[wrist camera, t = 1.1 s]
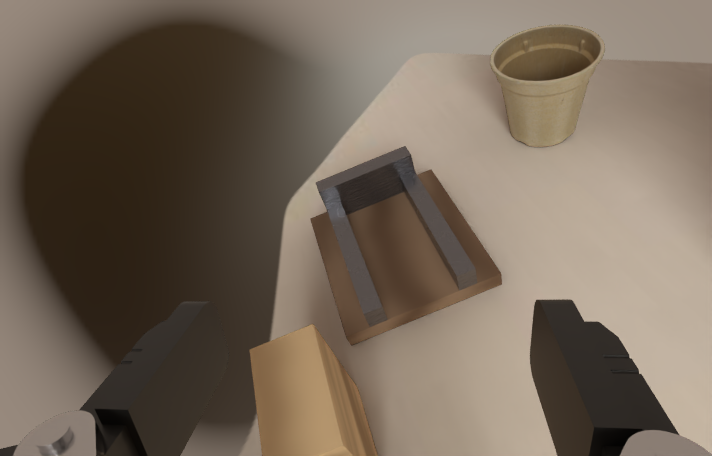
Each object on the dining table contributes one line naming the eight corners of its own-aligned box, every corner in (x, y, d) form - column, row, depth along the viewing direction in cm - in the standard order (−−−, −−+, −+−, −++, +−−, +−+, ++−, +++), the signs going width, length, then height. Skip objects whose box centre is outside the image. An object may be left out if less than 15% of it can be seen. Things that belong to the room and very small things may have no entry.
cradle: (433, 180, 45) (424, 137, 41) (501, 284, 35) (499, 241, 31) (315, 228, 45) (295, 190, 41) (351, 345, 35) (330, 310, 31)
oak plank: (357, 388, 33) (312, 323, 26) (387, 489, 28) (342, 445, 21) (308, 408, 33) (249, 349, 26) (329, 513, 28) (264, 476, 21)
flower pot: (522, 172, 42) (523, 95, 36) (478, 122, 49) (472, 50, 43) (613, 136, 42) (630, 52, 36) (557, 91, 49) (563, 13, 42)
